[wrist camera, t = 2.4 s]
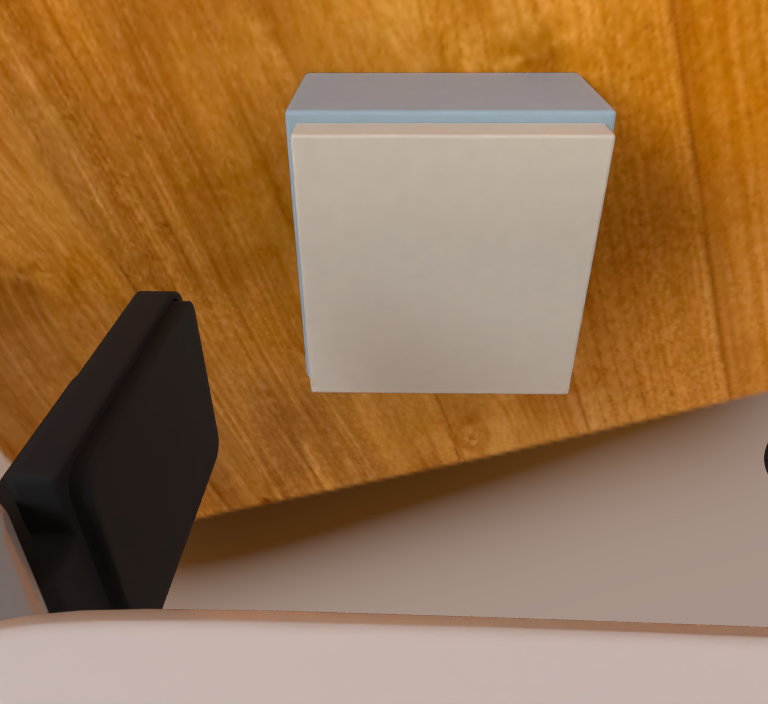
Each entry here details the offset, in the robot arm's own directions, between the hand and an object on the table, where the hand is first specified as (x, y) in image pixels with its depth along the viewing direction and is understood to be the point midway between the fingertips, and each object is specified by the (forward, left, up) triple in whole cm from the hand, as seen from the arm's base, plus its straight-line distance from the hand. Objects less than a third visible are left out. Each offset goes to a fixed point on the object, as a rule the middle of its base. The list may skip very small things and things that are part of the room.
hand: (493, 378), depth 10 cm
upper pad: (-1, 0, -7) cm, 7 cm away
